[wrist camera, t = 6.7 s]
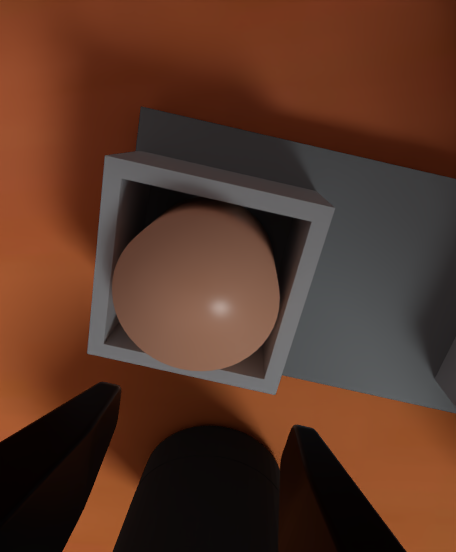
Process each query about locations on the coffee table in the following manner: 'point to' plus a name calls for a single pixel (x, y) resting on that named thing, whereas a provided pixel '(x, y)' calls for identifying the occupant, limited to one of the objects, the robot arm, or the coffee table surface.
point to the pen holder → (205, 496)
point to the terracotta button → (198, 286)
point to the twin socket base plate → (302, 256)
